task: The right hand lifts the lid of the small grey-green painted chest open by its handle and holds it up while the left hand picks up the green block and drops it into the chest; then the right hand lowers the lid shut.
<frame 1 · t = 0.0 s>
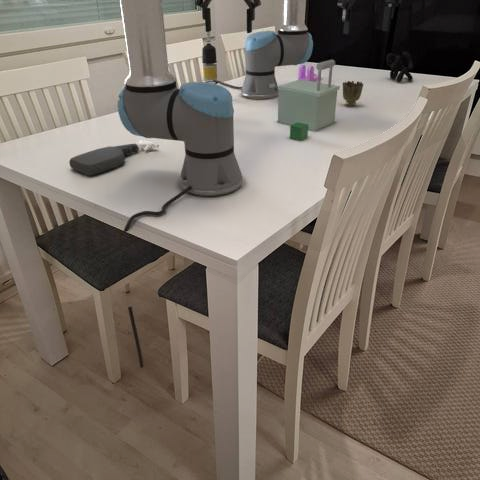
left hand: (228, 32, 139), 28 cm above the table, tool pointing down, fingers open, 13 cm apart
right hand: (366, 32, 133), 28 cm above the table, tool pointing down, fingers open, 13 cm apart
cup: (350, 105, 167), on the table
filter: (211, 98, 179), on the table
block: (298, 137, 138), on the table
bracket: (310, 80, 203), on the table
squiggle: (399, 80, 200), on the table
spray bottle: (117, 159, 125), on the table
lid: (309, 74, 142), point 16 cm above the table, hinge at -0.1°
chest: (305, 122, 151), on the table
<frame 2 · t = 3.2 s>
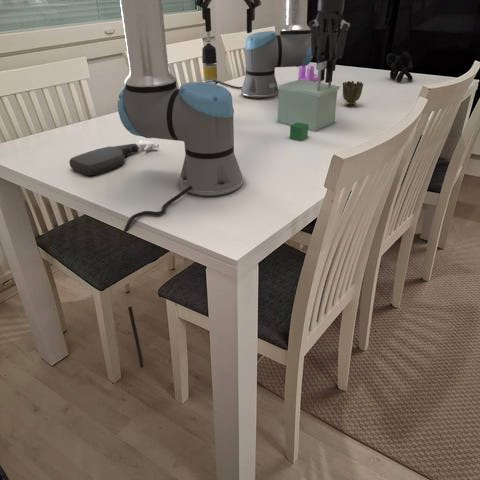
left hand: (228, 32, 139), 28 cm above the table, tool pointing down, fingers open, 13 cm apart
right hand: (324, 81, 140), 14 cm above the table, tool pointing down, fingers closed on lid, 2 cm apart
lid: (309, 74, 142), point 16 cm above the table, hinge at -0.1°, touching right hand
everything else where it was.
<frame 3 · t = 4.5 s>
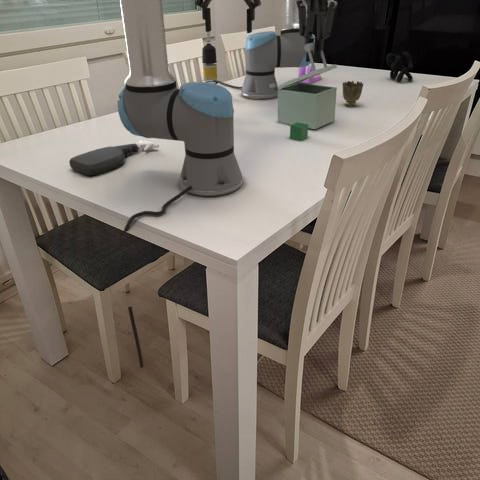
left hand: (228, 32, 139), 28 cm above the table, tool pointing down, fingers open, 13 cm apart
right hand: (313, 61, 140), 20 cm above the table, tool pointing down, fingers closed on lid, 2 cm apart
lid: (303, 63, 143), point 18 cm above the table, hinge at 22.5°, touching right hand
everything else where it was.
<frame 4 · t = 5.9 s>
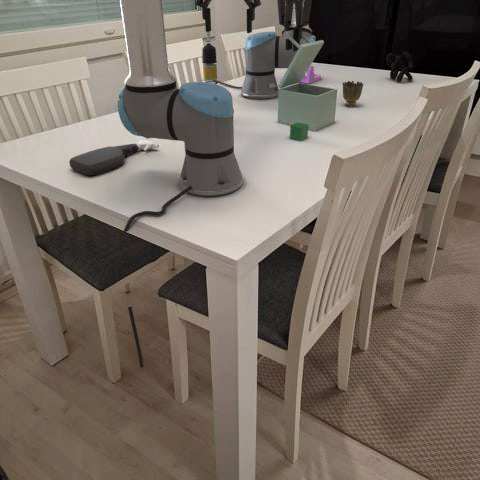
left hand: (228, 32, 139), 28 cm above the table, tool pointing down, fingers open, 13 cm apart
right hand: (292, 49, 143), 22 cm above the table, tool pointing down, fingers closed on lid, 2 cm apart
lid: (292, 56, 144), point 20 cm above the table, hinge at 58.1°, touching right hand
everything else where it was.
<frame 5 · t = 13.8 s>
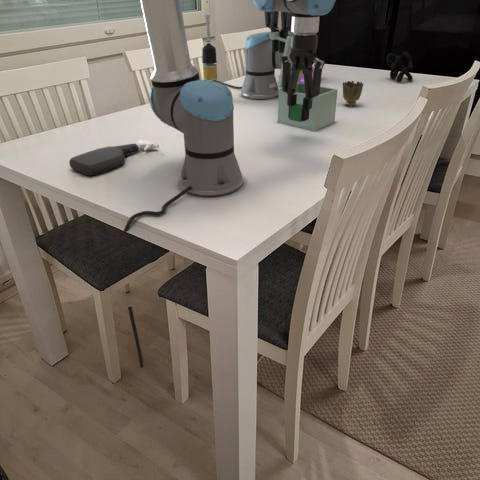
left hand: (298, 118, 134), 6 cm above the table, tool pointing down, fingers closed on block, 4 cm apart
right hand: (278, 51, 147), 21 cm above the table, tool pointing down, fingers closed on lid, 2 cm apart
block: (298, 119, 135), point 6 cm above the table, touching left hand
lid: (284, 56, 146), point 20 cm above the table, hinge at 79.0°, touching right hand
everything else where it was.
when the left hand's fingers open (16 cm above the table, at t = 16.5 s): block drops 15 cm, resting on chest.
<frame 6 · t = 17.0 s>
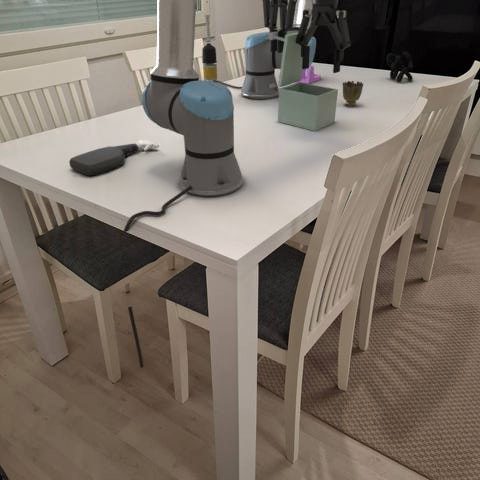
left hand: (320, 70, 139), 17 cm above the table, tool pointing down, fingers open, 11 cm apart
right hand: (277, 51, 147), 21 cm above the table, tool pointing down, fingers closed on lid, 2 cm apart
block: (314, 121, 148), point 1 cm above the table, touching chest
lid: (283, 55, 146), point 20 cm above the table, hinge at 82.9°, touching left hand, right hand
chest: (306, 121, 151), on the table, touching block
everything else where it was.
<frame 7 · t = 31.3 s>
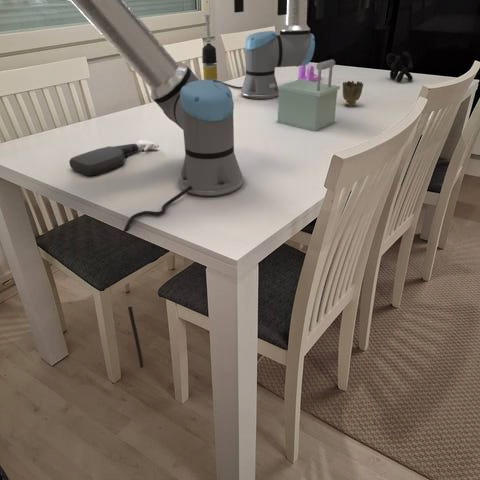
left hand: (259, 13, 109), 36 cm above the table, tool pointing down, fingers open, 13 cm apart
right hand: (339, 20, 129), 32 cm above the table, tool pointing down, fingers open, 13 cm apart
lid: (309, 74, 143), point 16 cm above the table, hinge at -0.1°
everything else where it was.
at the end: block inside the target area in the chest (3.6 cm from its centre), point 0.8 cm above the chest's base; lid at +0° (first picture: +0°); the left hand is holding nothing; the right hand is holding nothing; chest tilted 0°; chest moved 0.1 cm from its start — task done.
